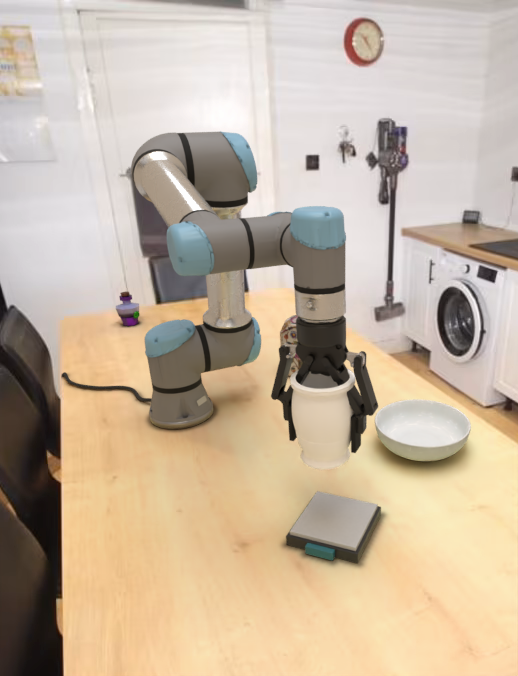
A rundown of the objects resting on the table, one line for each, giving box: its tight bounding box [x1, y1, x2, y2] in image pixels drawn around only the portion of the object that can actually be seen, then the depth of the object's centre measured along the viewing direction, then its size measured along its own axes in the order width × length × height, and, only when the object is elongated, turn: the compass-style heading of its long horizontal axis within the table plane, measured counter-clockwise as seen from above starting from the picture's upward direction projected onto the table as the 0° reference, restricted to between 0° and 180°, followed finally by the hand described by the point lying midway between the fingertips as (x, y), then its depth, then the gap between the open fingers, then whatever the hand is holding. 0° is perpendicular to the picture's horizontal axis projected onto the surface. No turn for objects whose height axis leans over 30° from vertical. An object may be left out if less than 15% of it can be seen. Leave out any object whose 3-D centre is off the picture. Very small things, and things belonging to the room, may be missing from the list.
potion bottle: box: [115, 291, 141, 328], centre depth 196 cm, size 9×9×12 cm
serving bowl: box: [374, 398, 472, 462], centre depth 120 cm, size 21×21×7 cm
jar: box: [289, 368, 356, 471], centre depth 88 cm, size 11×10×15 cm
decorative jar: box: [279, 314, 303, 377], centre depth 155 cm, size 12×12×18 cm
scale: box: [285, 490, 382, 564], centre depth 95 cm, size 13×14×3 cm
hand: (324, 442), depth 90 cm, fingers closed on jar, 10 cm apart
